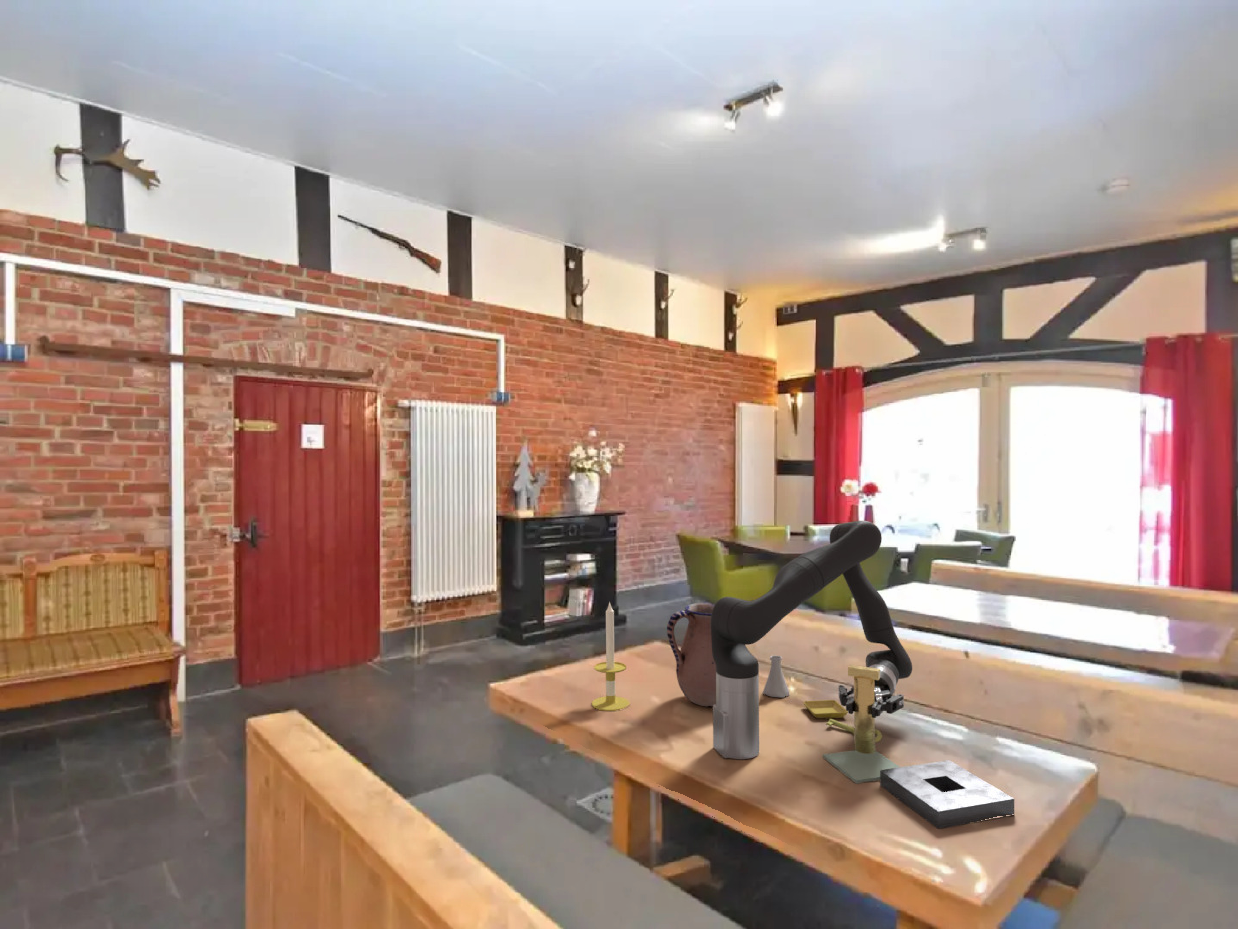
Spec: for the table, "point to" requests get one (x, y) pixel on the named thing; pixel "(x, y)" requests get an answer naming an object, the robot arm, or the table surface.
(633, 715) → the table surface
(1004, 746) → the table surface
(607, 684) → the candle
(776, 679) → the flask
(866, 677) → the t key
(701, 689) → the ceramic pitcher
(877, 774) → the mat
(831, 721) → the key
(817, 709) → the yellow square tray
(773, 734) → the table surface
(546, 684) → the table surface
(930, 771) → the cover plate
